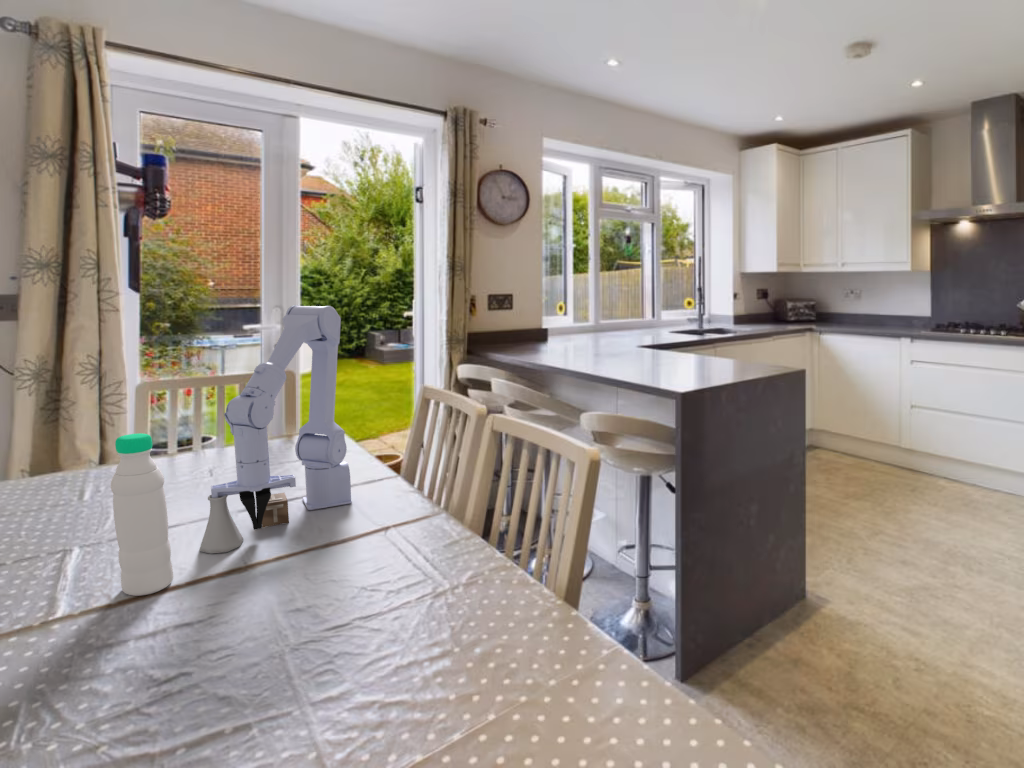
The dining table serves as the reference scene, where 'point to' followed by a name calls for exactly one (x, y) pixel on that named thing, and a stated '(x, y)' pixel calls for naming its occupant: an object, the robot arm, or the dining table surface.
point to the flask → (220, 528)
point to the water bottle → (140, 518)
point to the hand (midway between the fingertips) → (257, 527)
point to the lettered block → (276, 511)
